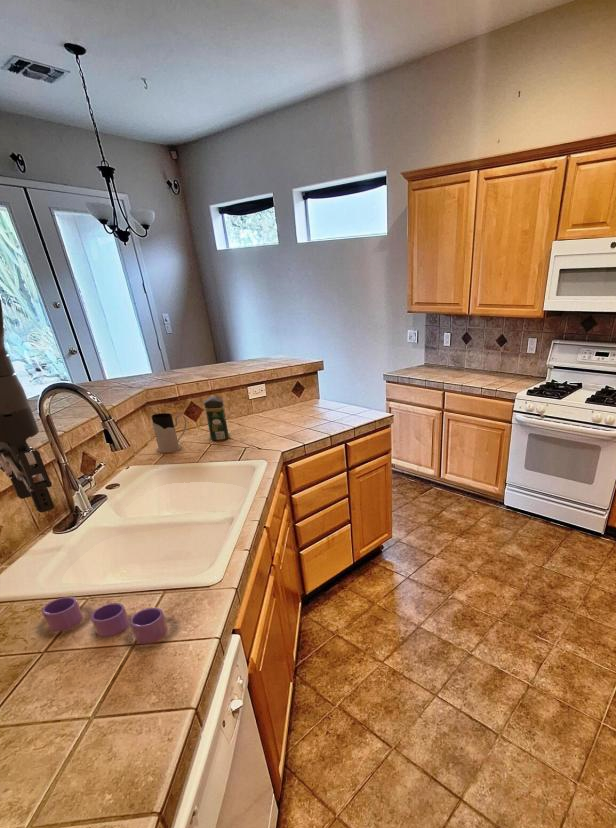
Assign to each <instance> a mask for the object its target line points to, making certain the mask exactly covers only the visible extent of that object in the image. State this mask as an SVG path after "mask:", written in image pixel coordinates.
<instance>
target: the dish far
mask: <svg viewBox="0 0 616 828" xmlns="http://www.w3.org/2000/svg"><path fill="white" fill-rule="evenodd" d="M129 626H130V628H131V630H132V633H133V636H134V639H135V641H136V642H137V643H139V644H152V643H156V642H158V641H159V640H160V639H162V638H164V637H165V636H166V634H167V633H168V631H169V629H168V625H167V621H166V618H165V614H164V611H163V609H161V608H159V607H147V608H143V609H141V610H139V611H137V612H135V613H134V614H133V615H132V616H131V617H130V619H129Z"/></svg>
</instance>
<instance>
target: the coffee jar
mask: <svg viewBox="0 0 616 828" xmlns="http://www.w3.org/2000/svg"><path fill="white" fill-rule="evenodd" d="M203 405H204V410H205V414H206V415H205V416H206V420H207V425H208V430H209V436H210V440H211V441H217V442H220V441H221V442H222V441H224V440H228V438H229V436H230V435H229V434H230V433H229V429H228V425H227V419H226V418H227V417H226V412H225V411H226V410H225V406H224V400H223V399H222V398H220V397H218V396H212V397H208V398H206V399H205V401H204V402H203Z"/></svg>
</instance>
